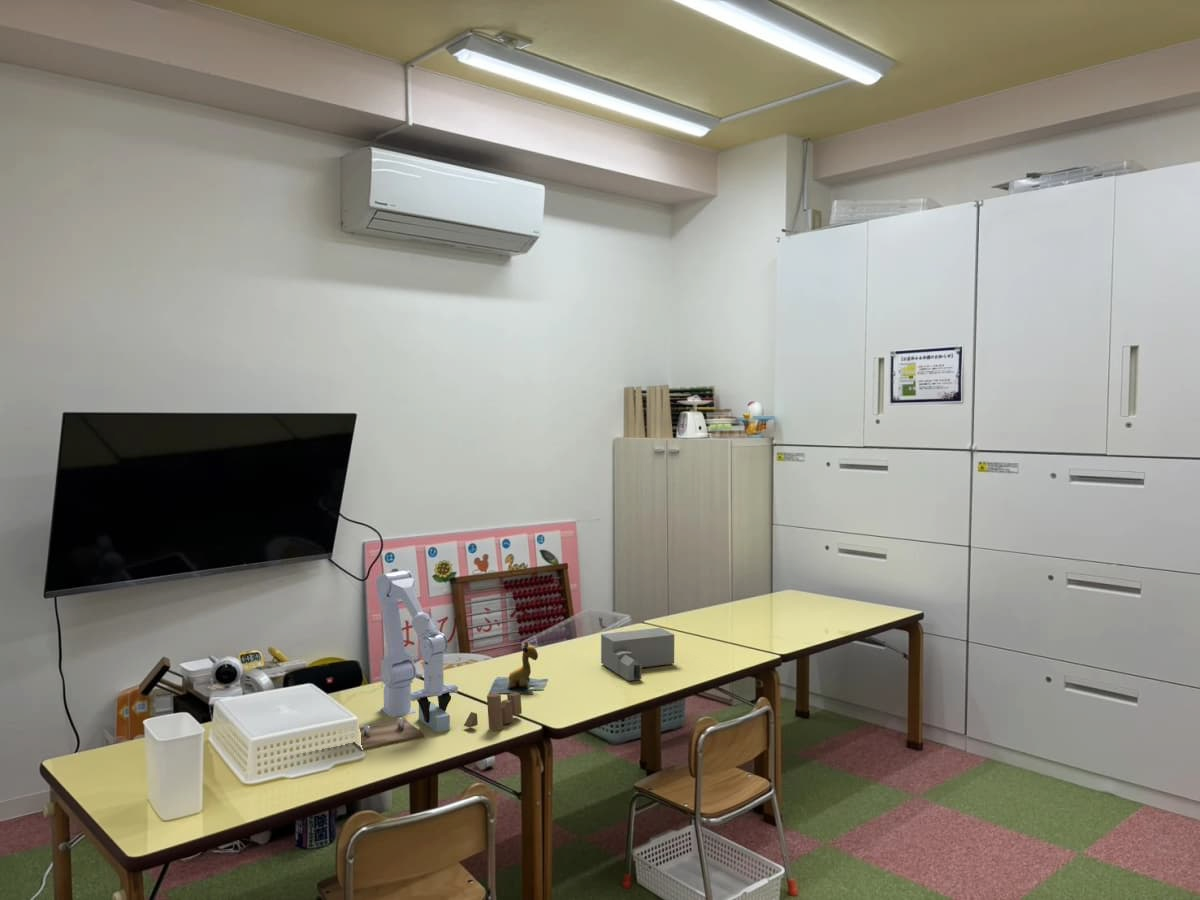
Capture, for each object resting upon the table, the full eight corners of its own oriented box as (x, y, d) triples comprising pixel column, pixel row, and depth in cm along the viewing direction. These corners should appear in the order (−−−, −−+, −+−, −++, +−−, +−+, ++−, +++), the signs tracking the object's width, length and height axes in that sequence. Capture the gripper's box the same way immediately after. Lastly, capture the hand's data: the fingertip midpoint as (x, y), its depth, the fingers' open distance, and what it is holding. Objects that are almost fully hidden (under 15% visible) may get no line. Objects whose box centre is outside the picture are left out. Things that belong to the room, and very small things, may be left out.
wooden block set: (512, 716, 269) (510, 682, 269) (530, 721, 262) (528, 687, 262) (463, 731, 256) (461, 696, 256) (480, 737, 250) (478, 701, 250)
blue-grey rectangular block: (418, 720, 265) (418, 704, 264) (431, 717, 267) (431, 701, 267) (437, 734, 253) (436, 717, 253) (449, 731, 255) (449, 715, 255)
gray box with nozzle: (627, 680, 304) (627, 650, 304) (601, 662, 326) (601, 634, 325) (690, 672, 314) (690, 642, 313) (660, 655, 335) (660, 627, 335)
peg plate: (345, 734, 252) (345, 720, 252) (404, 722, 262) (404, 708, 262) (362, 751, 240) (361, 736, 240) (423, 738, 250) (423, 724, 250)
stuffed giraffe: (542, 696, 288) (542, 648, 287) (488, 695, 289) (488, 647, 288) (547, 681, 304) (547, 636, 303) (496, 680, 305) (496, 635, 304)
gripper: (415, 682, 252) (416, 729, 253) (461, 674, 260) (462, 719, 261) (406, 676, 258) (407, 721, 258) (452, 668, 266) (452, 712, 266)
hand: (434, 720), depth 260 cm, fingers closed on blue-grey rectangular block, 4 cm apart
